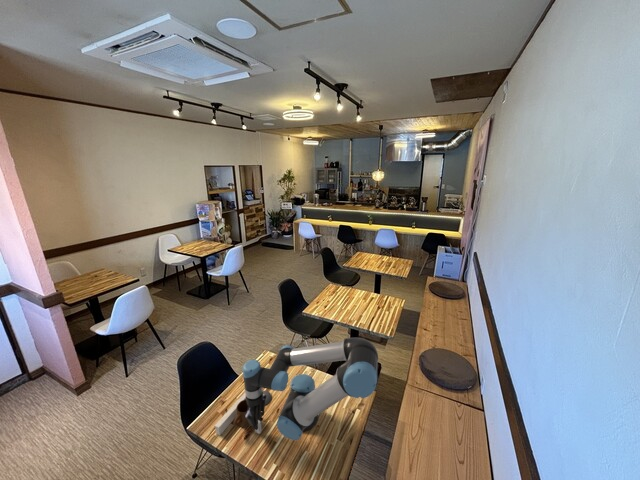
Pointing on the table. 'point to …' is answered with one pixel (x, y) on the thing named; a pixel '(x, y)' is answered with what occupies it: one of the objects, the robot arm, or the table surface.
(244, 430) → the table surface
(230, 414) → the board
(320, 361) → the robot arm
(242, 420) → the mug
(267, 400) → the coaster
